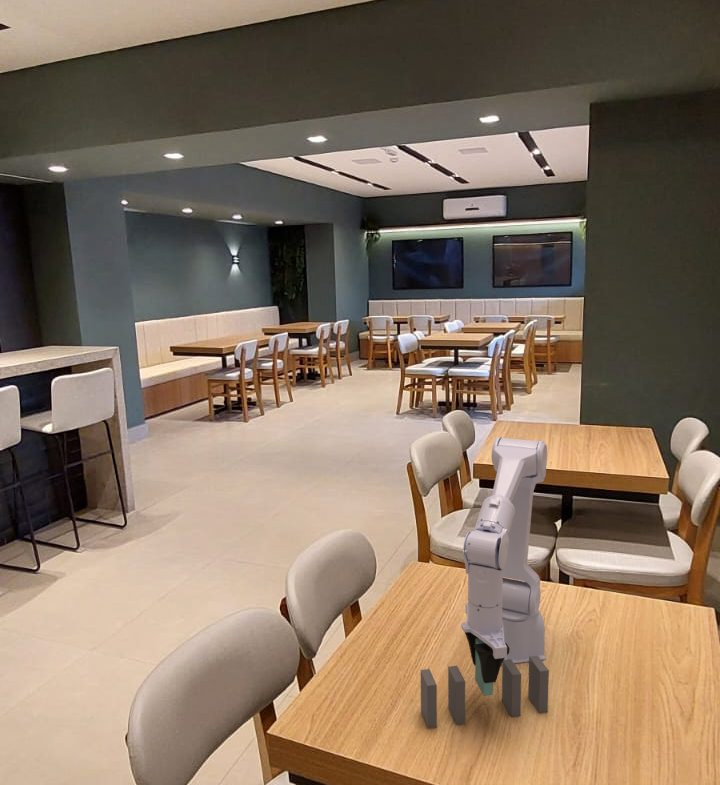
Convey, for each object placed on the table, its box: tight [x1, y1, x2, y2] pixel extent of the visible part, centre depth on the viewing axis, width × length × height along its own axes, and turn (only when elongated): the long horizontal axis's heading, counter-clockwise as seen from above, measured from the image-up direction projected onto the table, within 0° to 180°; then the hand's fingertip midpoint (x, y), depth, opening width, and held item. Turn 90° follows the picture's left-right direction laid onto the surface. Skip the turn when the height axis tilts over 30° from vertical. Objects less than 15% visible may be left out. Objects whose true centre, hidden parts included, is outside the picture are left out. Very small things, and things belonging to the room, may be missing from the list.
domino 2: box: [447, 665, 466, 726], centre depth 106 cm, size 2×4×8 cm, turn 9°
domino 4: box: [527, 656, 550, 714], centre depth 108 cm, size 2×4×8 cm, turn 9°
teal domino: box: [474, 638, 494, 697], centre depth 106 cm, size 2×4×8 cm, turn 9°
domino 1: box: [420, 668, 438, 730], centre depth 105 cm, size 2×4×8 cm, turn 9°
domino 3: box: [501, 659, 522, 718], centre depth 107 cm, size 2×4×8 cm, turn 9°
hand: (484, 672), depth 106 cm, fingers closed on teal domino, 4 cm apart
